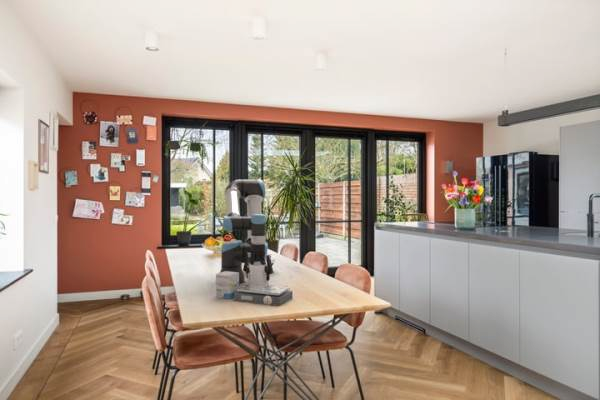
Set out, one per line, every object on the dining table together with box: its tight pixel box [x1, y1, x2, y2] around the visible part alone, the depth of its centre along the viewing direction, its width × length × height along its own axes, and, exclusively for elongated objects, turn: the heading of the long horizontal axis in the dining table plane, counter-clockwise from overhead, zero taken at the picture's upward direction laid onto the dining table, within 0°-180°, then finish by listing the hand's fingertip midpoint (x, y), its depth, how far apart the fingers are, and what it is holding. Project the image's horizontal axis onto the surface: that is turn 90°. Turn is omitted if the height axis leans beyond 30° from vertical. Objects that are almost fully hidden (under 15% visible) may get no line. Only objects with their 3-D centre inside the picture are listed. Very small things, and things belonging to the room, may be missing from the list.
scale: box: [233, 290, 294, 307], centre depth 201 cm, size 24×15×4 cm, turn 68°
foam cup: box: [249, 262, 267, 285], centre depth 220 cm, size 10×9×13 cm
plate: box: [237, 283, 291, 295], centre depth 201 cm, size 22×13×1 cm, turn 68°
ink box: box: [215, 271, 240, 300], centre depth 207 cm, size 9×8×12 cm
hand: (257, 285), depth 220 cm, fingers closed on foam cup, 9 cm apart
